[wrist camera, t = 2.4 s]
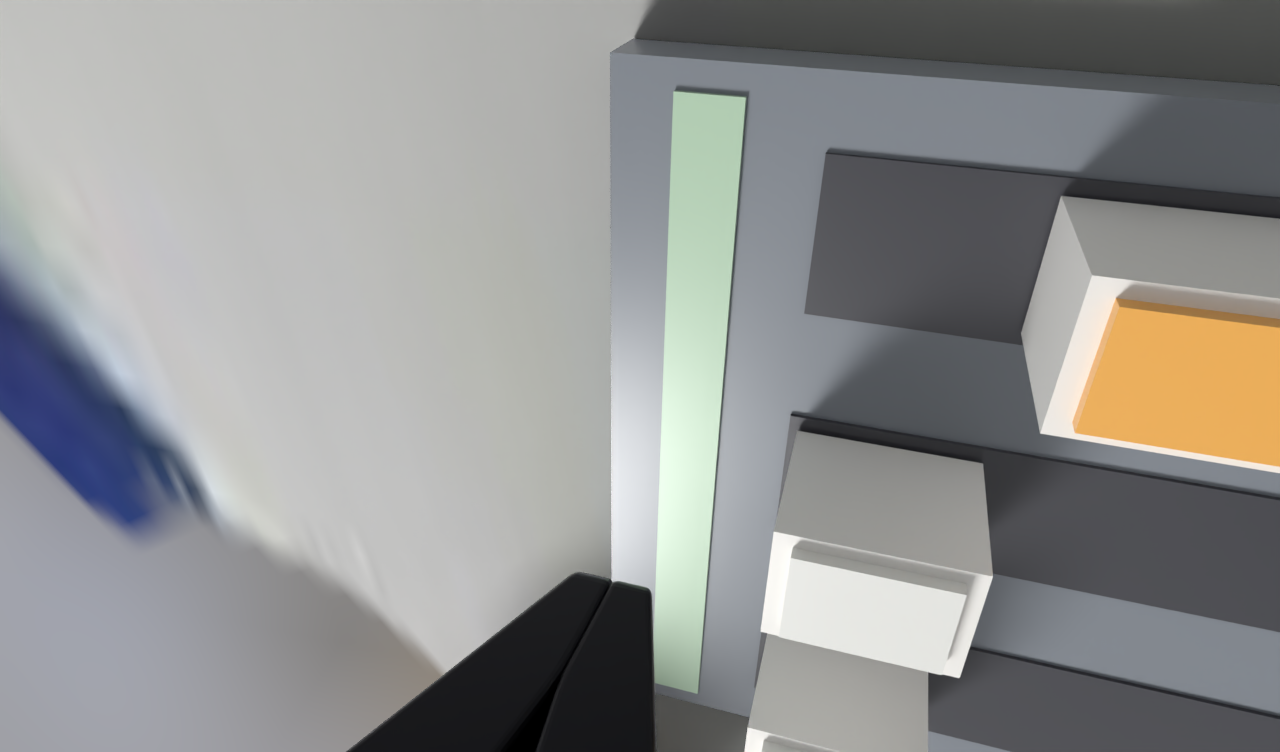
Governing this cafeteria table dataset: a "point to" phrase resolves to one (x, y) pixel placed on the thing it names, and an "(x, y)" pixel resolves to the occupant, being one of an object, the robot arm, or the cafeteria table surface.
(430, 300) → the cafeteria table surface
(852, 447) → the block
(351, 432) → the cafeteria table surface
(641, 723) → the robot arm
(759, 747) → the block
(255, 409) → the cafeteria table surface
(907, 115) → the panel
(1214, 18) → the cafeteria table surface
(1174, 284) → the block
